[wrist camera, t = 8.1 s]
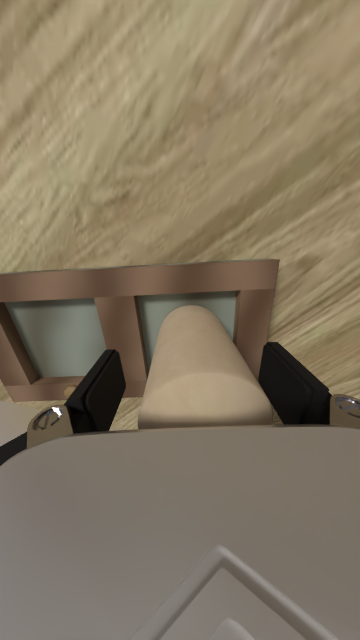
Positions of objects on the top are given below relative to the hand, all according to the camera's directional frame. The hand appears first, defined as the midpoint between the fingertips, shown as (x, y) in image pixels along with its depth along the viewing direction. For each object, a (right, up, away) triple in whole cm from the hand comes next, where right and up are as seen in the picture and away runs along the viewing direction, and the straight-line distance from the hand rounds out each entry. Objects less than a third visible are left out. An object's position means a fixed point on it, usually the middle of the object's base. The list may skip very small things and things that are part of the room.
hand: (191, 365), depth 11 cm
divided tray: (-6, +2, +5) cm, 8 cm away
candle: (0, +2, +4) cm, 5 cm away
